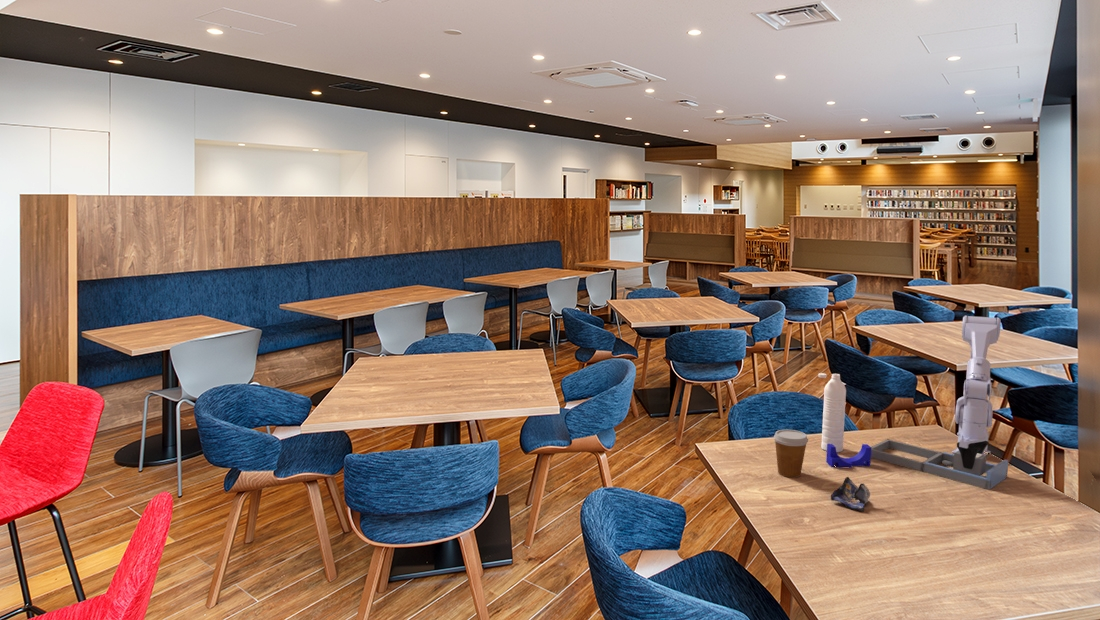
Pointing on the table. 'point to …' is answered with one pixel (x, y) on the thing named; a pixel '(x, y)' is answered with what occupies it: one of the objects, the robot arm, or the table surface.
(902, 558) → the table surface
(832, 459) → the blue pipe cradle
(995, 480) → the grey divided rectangular frame
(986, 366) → the robot arm
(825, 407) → the water bottle
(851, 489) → the snack package
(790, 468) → the disposable coffee cup
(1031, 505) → the table surface
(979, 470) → the cord plug
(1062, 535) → the table surface
